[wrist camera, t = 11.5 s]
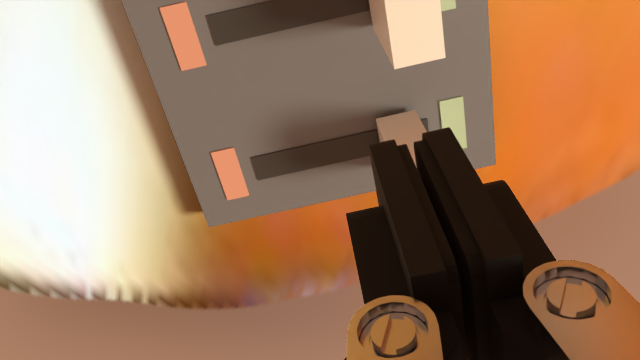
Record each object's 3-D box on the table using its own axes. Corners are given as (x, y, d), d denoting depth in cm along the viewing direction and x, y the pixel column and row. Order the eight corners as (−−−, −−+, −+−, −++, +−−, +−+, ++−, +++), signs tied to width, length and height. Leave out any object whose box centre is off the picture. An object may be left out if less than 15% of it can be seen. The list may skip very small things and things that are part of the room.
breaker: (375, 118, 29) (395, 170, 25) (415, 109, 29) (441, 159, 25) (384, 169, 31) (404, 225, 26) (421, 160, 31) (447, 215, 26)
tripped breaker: (362, -38, 25) (383, -9, 21) (408, -49, 25) (438, -22, 21) (373, 29, 27) (394, 69, 22) (416, 19, 27) (445, 57, 22)
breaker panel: (46, -226, 22) (32, -229, 21) (458, -329, 22) (471, -339, 20) (210, 211, 33) (208, 228, 32) (486, 151, 33) (496, 165, 32)
